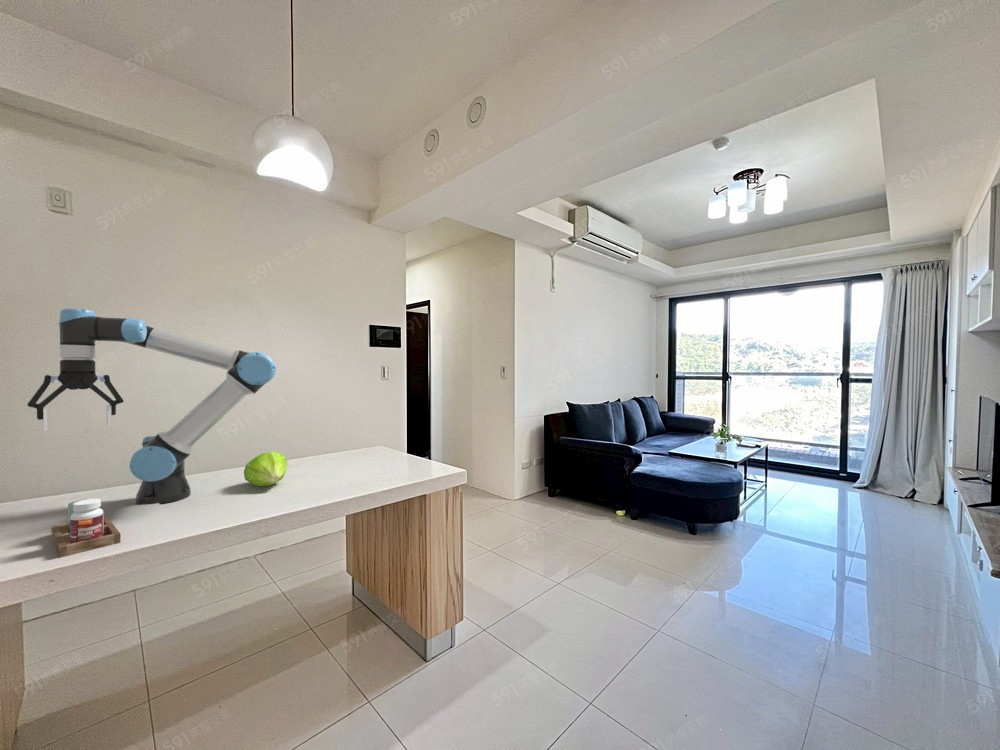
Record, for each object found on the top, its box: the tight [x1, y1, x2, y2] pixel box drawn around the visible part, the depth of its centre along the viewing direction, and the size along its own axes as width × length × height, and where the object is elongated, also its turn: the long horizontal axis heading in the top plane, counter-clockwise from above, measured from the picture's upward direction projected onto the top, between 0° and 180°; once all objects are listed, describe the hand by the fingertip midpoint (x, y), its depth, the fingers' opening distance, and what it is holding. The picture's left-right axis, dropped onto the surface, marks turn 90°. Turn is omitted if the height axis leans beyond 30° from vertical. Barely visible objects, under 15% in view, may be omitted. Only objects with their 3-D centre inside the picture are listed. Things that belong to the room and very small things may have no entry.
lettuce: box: [243, 451, 288, 488], centre depth 161 cm, size 15×20×14 cm
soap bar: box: [67, 498, 89, 533], centre depth 112 cm, size 6×6×9 cm
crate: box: [50, 515, 121, 559], centre depth 109 cm, size 11×21×3 cm, turn 52°
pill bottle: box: [70, 498, 104, 544], centre depth 106 cm, size 6×6×11 cm
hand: (78, 428), depth 123 cm, fingers open, 13 cm apart
